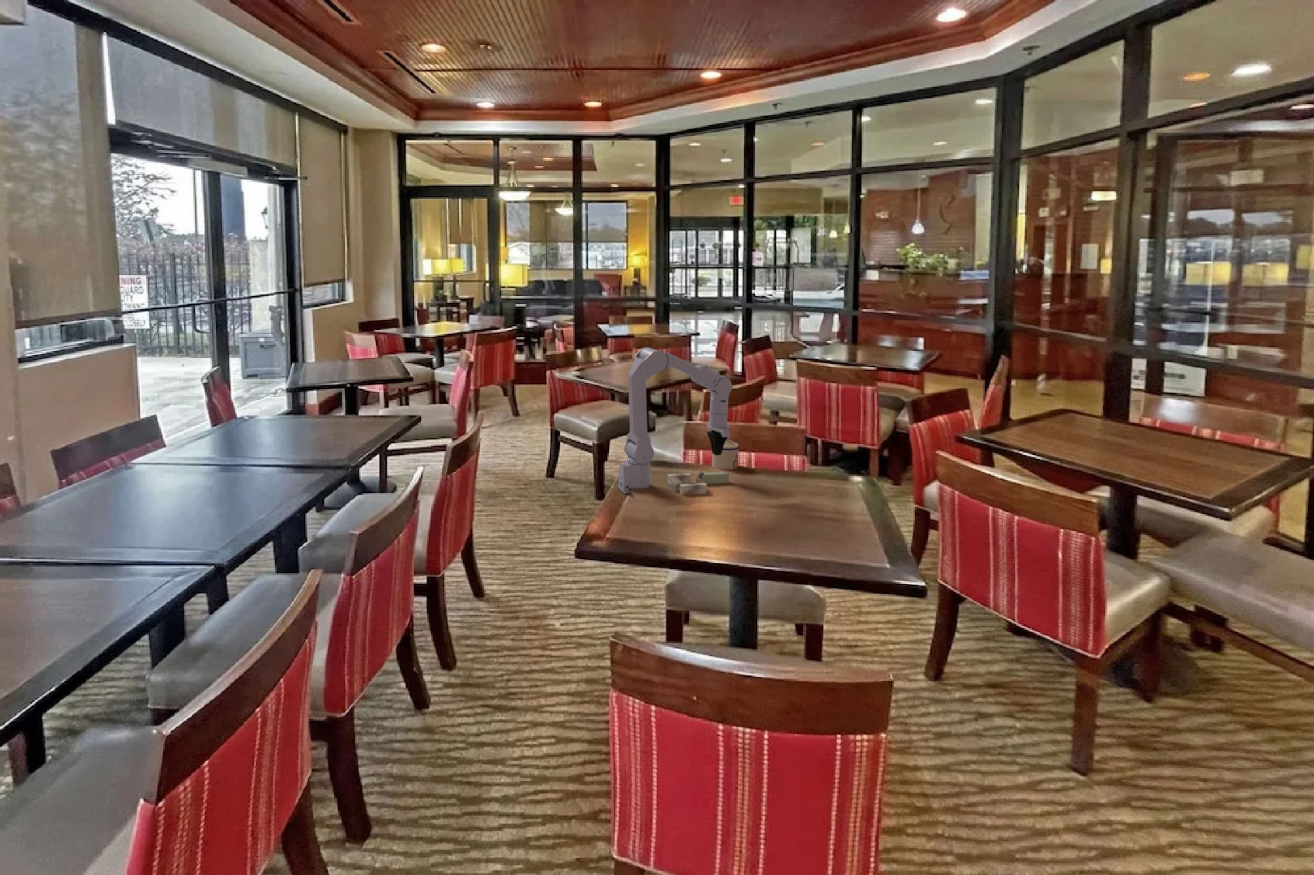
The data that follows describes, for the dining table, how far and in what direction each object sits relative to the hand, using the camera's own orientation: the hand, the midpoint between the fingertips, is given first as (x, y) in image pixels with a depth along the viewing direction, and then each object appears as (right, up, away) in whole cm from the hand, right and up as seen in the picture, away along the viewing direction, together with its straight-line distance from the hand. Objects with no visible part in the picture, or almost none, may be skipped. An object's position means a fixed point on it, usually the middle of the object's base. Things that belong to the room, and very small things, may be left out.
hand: (716, 454), depth 289 cm
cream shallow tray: (-8, -12, -10) cm, 17 cm away
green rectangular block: (-2, -9, -4) cm, 10 cm away
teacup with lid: (+4, -6, +19) cm, 20 cm away
